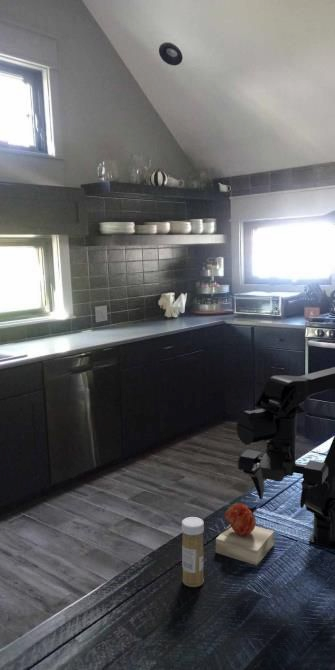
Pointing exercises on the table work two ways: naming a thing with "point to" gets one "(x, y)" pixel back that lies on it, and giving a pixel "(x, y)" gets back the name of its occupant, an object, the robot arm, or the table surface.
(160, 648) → the table surface
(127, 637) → the table surface
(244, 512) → the red oval lump
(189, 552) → the sprinkles bottle
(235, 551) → the pale wooden block
